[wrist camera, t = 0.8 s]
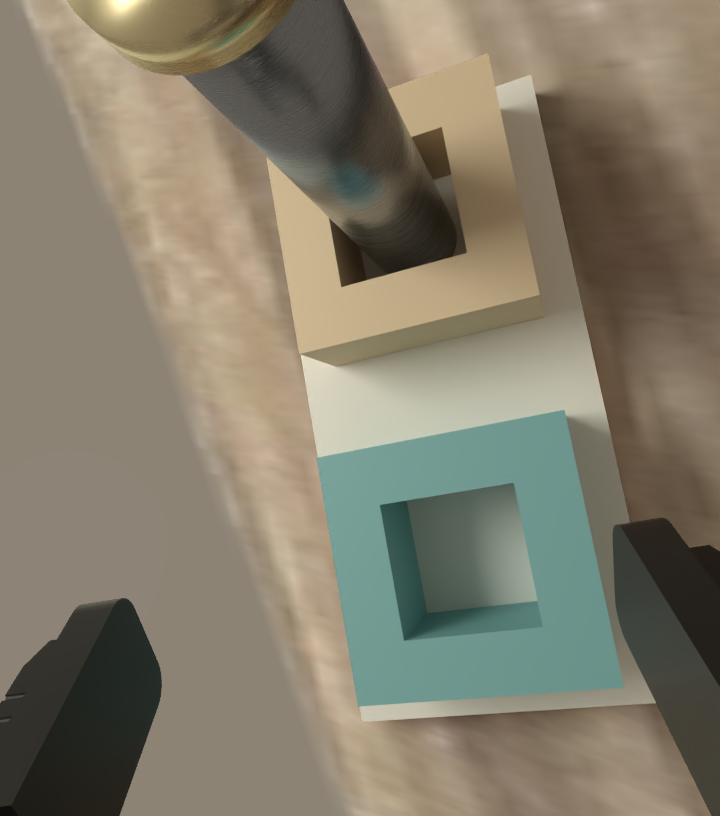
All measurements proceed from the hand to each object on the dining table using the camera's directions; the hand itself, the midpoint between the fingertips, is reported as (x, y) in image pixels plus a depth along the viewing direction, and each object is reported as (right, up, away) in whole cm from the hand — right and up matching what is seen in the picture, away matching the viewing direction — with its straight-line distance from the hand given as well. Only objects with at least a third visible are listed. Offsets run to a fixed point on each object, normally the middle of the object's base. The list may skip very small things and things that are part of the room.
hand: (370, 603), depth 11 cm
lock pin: (+2, +10, +17) cm, 20 cm away
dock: (+4, +3, +17) cm, 18 cm away
